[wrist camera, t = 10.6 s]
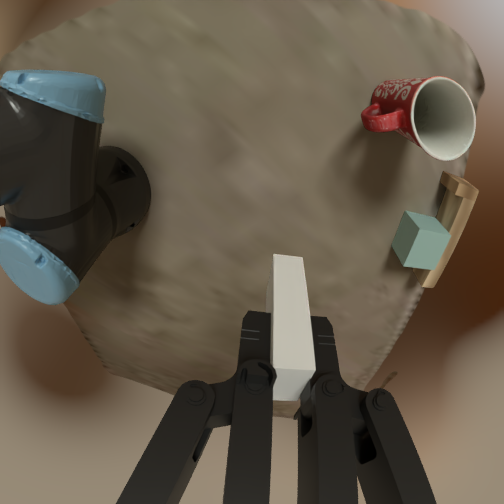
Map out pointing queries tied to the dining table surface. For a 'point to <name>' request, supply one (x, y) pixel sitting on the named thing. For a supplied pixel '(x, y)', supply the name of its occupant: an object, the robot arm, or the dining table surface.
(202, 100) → the dining table surface
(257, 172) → the dining table surface
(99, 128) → the robot arm
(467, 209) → the stop board
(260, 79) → the dining table surface
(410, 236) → the block
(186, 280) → the dining table surface
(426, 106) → the mug
